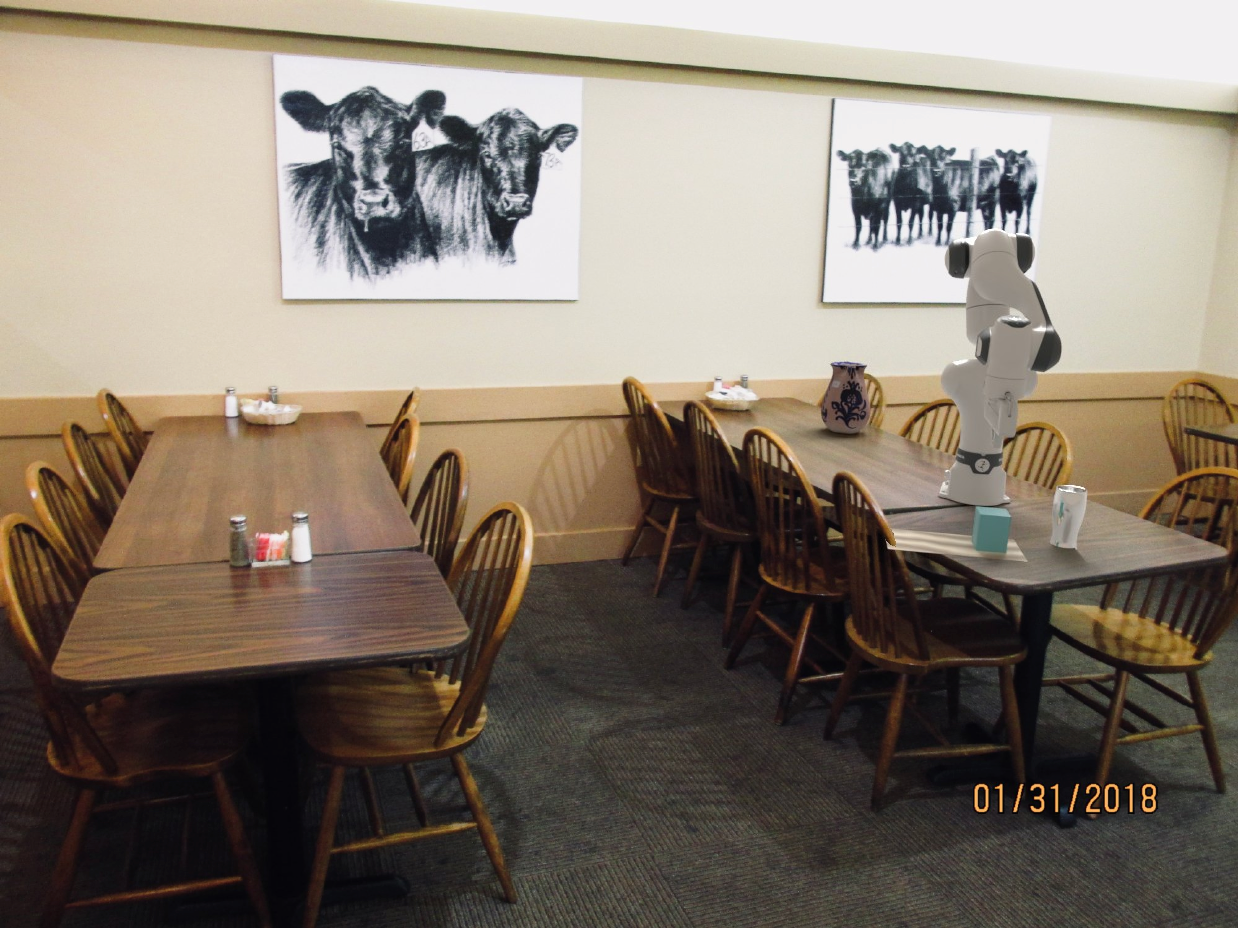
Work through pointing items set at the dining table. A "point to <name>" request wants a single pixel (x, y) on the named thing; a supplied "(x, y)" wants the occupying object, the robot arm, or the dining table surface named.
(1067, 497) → the beer glass
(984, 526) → the turquoise rectangular block
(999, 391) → the robot arm
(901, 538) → the birch board
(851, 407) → the ceramic pitcher
